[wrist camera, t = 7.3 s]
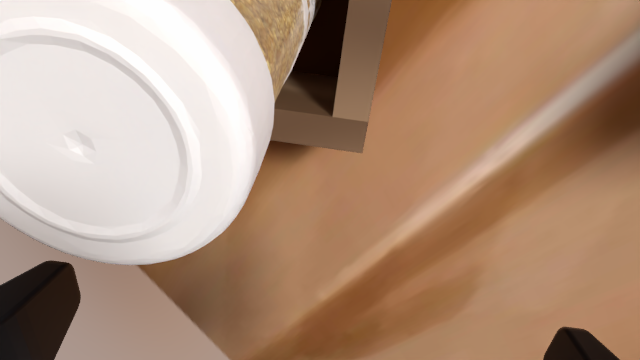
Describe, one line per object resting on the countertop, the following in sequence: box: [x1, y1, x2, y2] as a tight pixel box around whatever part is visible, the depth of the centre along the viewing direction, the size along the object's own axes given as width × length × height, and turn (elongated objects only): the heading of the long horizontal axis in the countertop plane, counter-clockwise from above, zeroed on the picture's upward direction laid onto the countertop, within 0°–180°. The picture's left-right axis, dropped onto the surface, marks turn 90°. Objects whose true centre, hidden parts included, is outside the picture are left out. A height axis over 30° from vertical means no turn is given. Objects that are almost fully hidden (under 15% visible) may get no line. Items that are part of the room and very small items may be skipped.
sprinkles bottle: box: [0, 0, 322, 265], centre depth 11 cm, size 5×5×14 cm
